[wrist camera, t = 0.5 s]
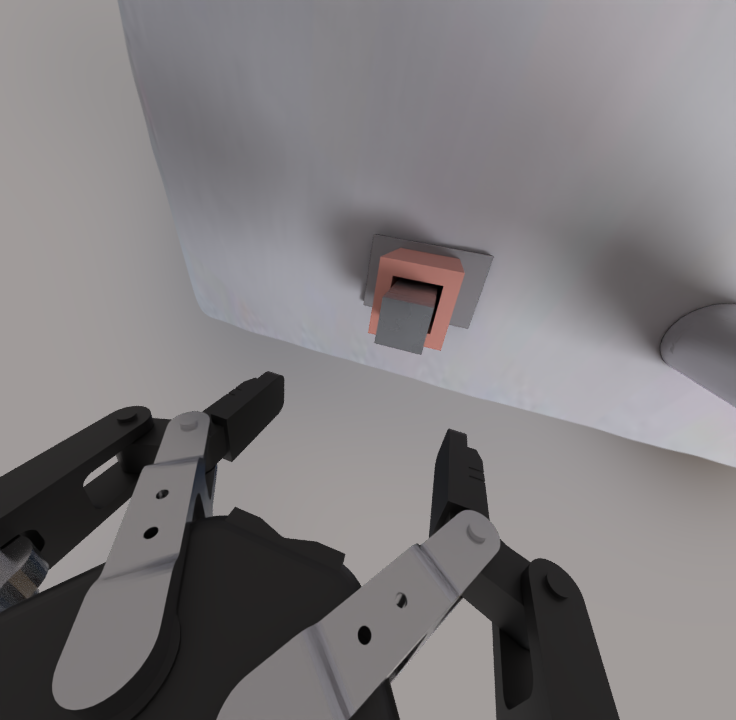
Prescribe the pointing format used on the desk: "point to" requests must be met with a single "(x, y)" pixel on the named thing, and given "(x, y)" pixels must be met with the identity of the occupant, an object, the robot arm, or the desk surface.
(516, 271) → the desk surface
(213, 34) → the desk surface
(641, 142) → the desk surface
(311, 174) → the desk surface
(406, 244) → the stand sleeve
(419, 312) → the steel column
